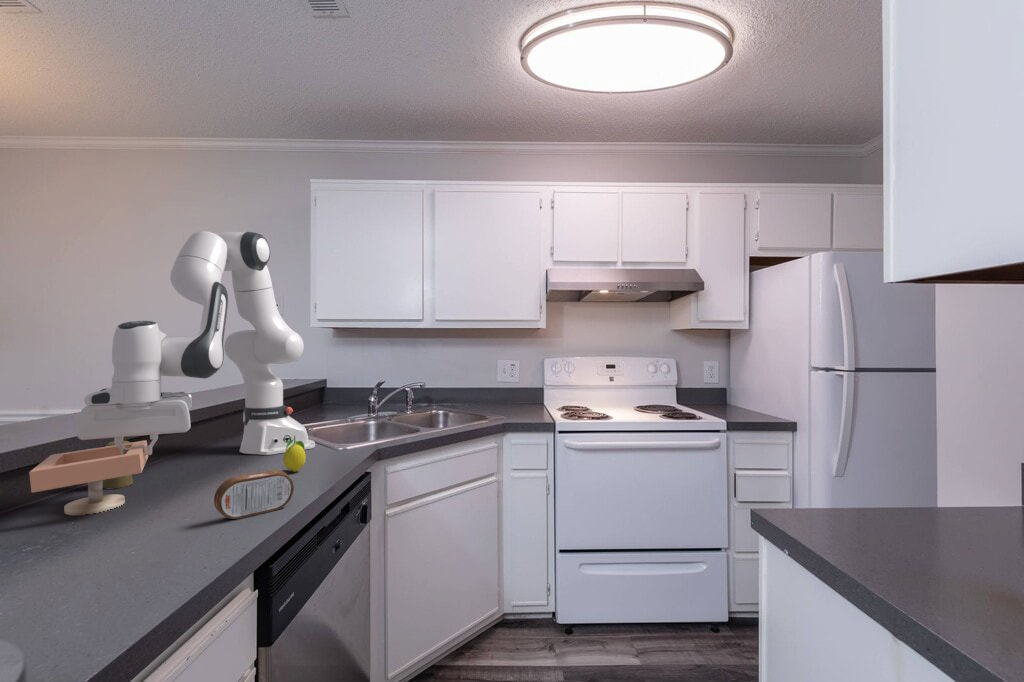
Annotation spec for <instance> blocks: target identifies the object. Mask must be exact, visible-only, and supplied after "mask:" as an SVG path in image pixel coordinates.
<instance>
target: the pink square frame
mask: <svg viewBox="0 0 1024 682" xmlns="http://www.w3.org/2000/svg"><path fill="white" fill-rule="evenodd" d="M123 445H124V447H125V448H130V449H129V450H128V452H127V453H126V454H124V455H121V450H120V449H119V448H118V447H117V445H112V446H106V445H105V446H106V447H105V446H100V447H94V448H86V449H81V450H75V451H74V450H73V451H68V452H61V453H55V454H51V455H49V456H48V457H47V458H46V459H44V460H43V461H41V462H40V463H39V464H38V465H37V466H35V467H33V469H31V470H30V471H29V472H28V474H29V481H30V490H31V493H37V492H44V491H48V490H49V491H50V490H54V489H59V488H66V487H70V486H71V487H72V486H75V485H81V484H88V482H94V481H99V480H105V479H110V478H116V477H122V476H127V475H132V476H133V475H137V474H142V473H143V471H144V467H145V466H146V463H147V460H148V458H149V455H144V446H148V442H147V440H140V441H134V442H133V441H132V442H130V443H125V444H123Z"/></svg>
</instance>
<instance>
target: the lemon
mask: <svg viewBox="0 0 1024 682" xmlns="http://www.w3.org/2000/svg"><path fill="white" fill-rule="evenodd" d="M292 442H293V440H290V441H288V443H287V446H286V449H287V448H288V446H289V445H290V444H291V443H292ZM295 442H296V441H295V435H294V444H293V445H292V446H290V447H289V448H288V449H287V450H285V451H286V452H284V453H283V465H284V467H285V468H286V469H288V470H290V471H292V472H293V473H297V471H298V470H299V469H301V468H303V466H304V465H305V463H306V459H307V457H306V451H305V450H304V443H303V442H302V441H298V442H296V443H295Z"/></svg>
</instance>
